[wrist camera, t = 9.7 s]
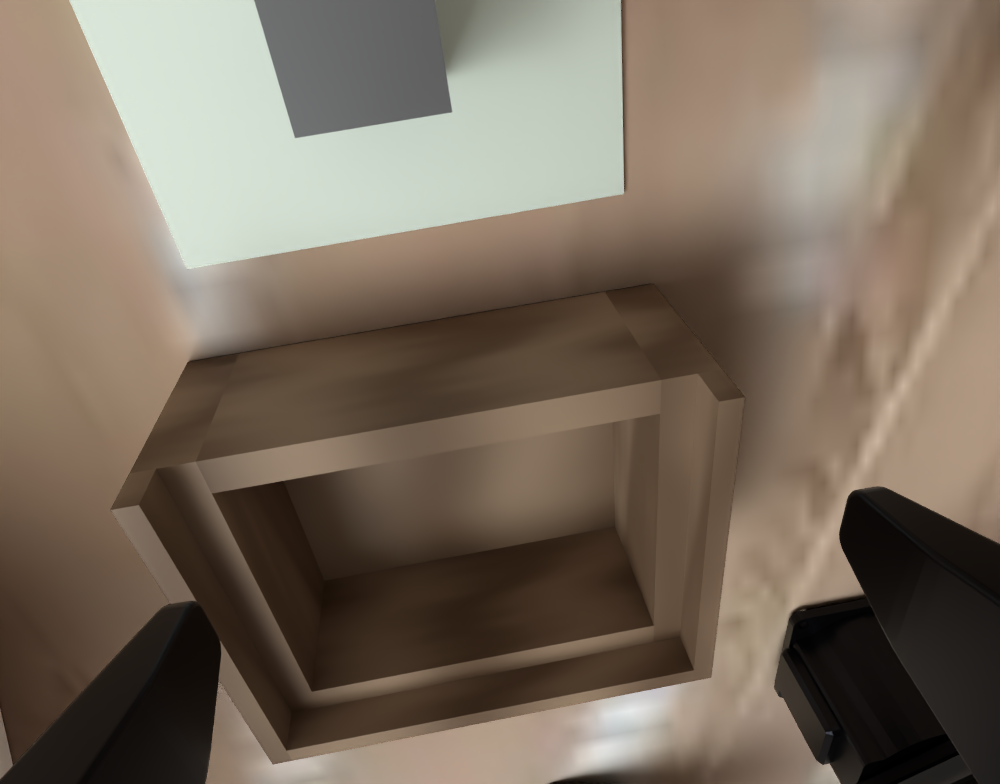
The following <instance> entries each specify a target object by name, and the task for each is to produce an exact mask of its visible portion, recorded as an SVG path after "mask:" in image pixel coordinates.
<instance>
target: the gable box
mask: <svg viewBox="0 0 1000 784" xmlns="http://www.w3.org/2000/svg"><path fill="white" fill-rule="evenodd" d="M12 766H13V763H12V759H11V754H10V750H9V745H8V741H7V737H6V732H5V728H4V723H3V719H2V714H1V710H0V779H1V778H2V777H3V775H4V774H5V773H6V772H7V771H8V770H9V769H10V768H11V767H12Z"/></svg>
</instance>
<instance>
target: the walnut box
mask: <svg viewBox="0 0 1000 784" xmlns="http://www.w3.org/2000/svg"><path fill="white" fill-rule="evenodd" d="M744 401H745V397H744V395H743V394H742V393H741V392H740V390H739V389H738V388H737V387H736V385H735V384H734V383H733V382H732V381H731V379H730V378H729V377H728V376H727V374H726V373H725V372H724V371H723V369H722V368H721V367H720V366H719V364H718V363H717V362H716V361H715V360H714V358H713V357H712V356H711V355H710V353H709V352H708V351H707V350H706V348H705V347H704V346H703V345H702V343H701V342H700V341H699V340H698V339H697V337H696V336H695V335H694V334H693V332H692V331H691V330H690V329H689V327H688V326H687V325H686V324H685V322H684V321H683V320H682V319H681V318H680V316H679V315H678V314H677V313H676V311H675V310H674V309H673V308H672V306H671V305H670V304H669V303H668V301H667V300H666V299H665V298H664V297H663V295H662V294H661V293H660V292H659V290H658V289H657V288H656V287H655V285H654V284H648V285H642V286H636V287H630V288H624V289H618V290H612V291H606V292H601V293H595V294H589V295H583V296H577V297H571V298H565V299H559V300H553V301H547V302H541V303H535V304H529V305H523V306H517V307H511V308H505V309H500V310H494V311H488V312H482V313H476V314H470V315H464V316H458V317H452V318H446V319H440V320H434V321H428V322H422V323H416V324H410V325H404V326H399V327H393V328H387V329H381V330H375V331H369V332H363V333H357V334H351V335H345V336H339V337H333V338H327V339H321V340H315V341H309V342H303V343H298V344H292V345H286V346H280V347H274V348H268V349H262V350H256V351H250V352H244V353H238V354H232V355H226V356H220V357H214V358H208V359H203V360H197V361H191V362H188V363H187V365H186V367H185V368H184V370H183V372H182V374H181V376H180V378H179V380H178V382H177V384H176V386H175V388H174V389H173V391H172V393H171V395H170V397H169V399H168V401H167V403H166V405H165V407H164V409H163V410H162V412H161V414H160V416H159V418H158V420H157V422H156V424H155V426H154V428H153V430H152V431H151V433H150V435H149V437H148V439H147V441H146V443H145V445H144V447H143V449H142V451H141V453H140V454H139V456H138V458H137V460H136V462H135V464H134V466H133V468H132V470H131V472H130V474H129V475H128V477H127V479H126V481H125V483H124V485H123V487H122V489H121V491H120V493H119V495H118V496H117V498H116V500H115V502H114V504H113V506H112V508H111V512H112V513H113V515H114V517H115V518H116V520H117V521H118V523H119V524H120V526H121V528H122V529H123V531H124V532H125V534H126V535H127V537H128V538H129V540H130V542H131V543H132V545H133V546H134V548H135V549H136V551H137V553H138V554H139V556H140V557H141V559H142V560H143V562H144V564H145V565H146V567H147V568H148V570H149V571H150V573H151V574H152V576H153V578H154V579H155V581H156V582H157V584H158V585H159V587H160V589H161V590H162V592H163V593H164V595H165V596H166V598H167V599H168V601H169V603H170V604H174V603H180V602H186V601H196V602H198V603H200V605H201V606H202V607H203V609H204V611H205V613H206V615H207V616H208V618H209V620H210V622H211V624H212V625H213V627H214V629H215V631H216V633H217V634H218V637H219V639H220V643H221V662H220V671H219V681H220V682H221V684H222V686H223V687H224V689H225V690H226V692H227V693H228V695H229V696H230V698H231V700H232V701H233V703H234V704H235V706H236V707H237V709H238V711H239V712H240V714H241V715H242V717H243V718H244V720H245V722H246V723H247V725H248V726H249V728H250V729H251V731H252V732H253V734H254V736H255V737H256V739H257V740H258V742H259V743H260V745H261V747H262V748H263V750H264V751H265V753H266V754H267V756H268V757H269V759H270V761H271V762H272V764H277V763H282V762H287V761H292V760H297V759H303V758H308V757H313V756H318V755H323V754H328V753H333V752H338V751H343V750H348V749H353V748H358V747H363V746H368V745H373V744H378V743H383V742H388V741H393V740H398V739H403V738H408V737H413V736H419V735H424V734H429V733H434V732H439V731H444V730H449V729H454V728H459V727H464V726H469V725H474V724H479V723H484V722H489V721H494V720H499V719H504V718H509V717H514V716H519V715H524V714H529V713H535V712H540V711H545V710H550V709H555V708H560V707H565V706H570V705H575V704H580V703H585V702H590V701H595V700H600V699H605V698H610V697H615V696H620V695H625V694H630V693H635V692H640V691H645V690H651V689H656V688H661V687H666V686H671V685H676V684H681V683H686V682H691V681H696V680H701V679H706V678H711V675H712V667H713V659H714V650H715V642H716V634H717V625H718V617H719V609H720V600H721V592H722V584H723V576H724V567H725V559H726V551H727V542H728V534H729V526H730V517H731V509H732V501H733V492H734V484H735V476H736V468H737V459H738V451H739V443H740V434H741V426H742V418H743V409H744Z"/></svg>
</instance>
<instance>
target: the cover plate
mask: <svg viewBox="0 0 1000 784" xmlns="http://www.w3.org/2000/svg"><path fill="white" fill-rule="evenodd" d="M70 3H71V5H72V7H73V10H74V12H75V14H76V16H77V19H78V21H79V23H80V26H81V28H82V30H83V32H84V35H85V37H86V39H87V42H88V44H89V46H90V48H91V51H92V53H93V55H94V58H95V60H96V62H97V65H98V67H99V69H100V71H101V74H102V76H103V78H104V81H105V83H106V85H107V87H108V90H109V92H110V94H111V97H112V99H113V101H114V103H115V106H116V108H117V110H118V113H119V115H120V117H121V119H122V122H123V124H124V126H125V129H126V131H127V133H128V135H129V138H130V140H131V142H132V145H133V147H134V149H135V151H136V154H137V156H138V158H139V161H140V163H141V165H142V168H143V170H144V172H145V174H146V177H147V179H148V181H149V184H150V186H151V188H152V190H153V193H154V195H155V197H156V200H157V202H158V204H159V206H160V209H161V211H162V213H163V216H164V218H165V220H166V222H167V225H168V227H169V229H170V232H171V234H172V236H173V238H174V241H175V243H176V245H177V248H178V250H179V252H180V255H181V257H182V259H183V261H184V264H185V266H186V268H187V269H192V268H197V267H203V266H209V265H215V264H221V263H226V262H232V261H238V260H244V259H250V258H255V257H261V256H267V255H273V254H279V253H284V252H290V251H296V250H302V249H308V248H313V247H319V246H325V245H331V244H337V243H342V242H348V241H354V240H360V239H365V238H371V237H377V236H383V235H389V234H394V233H400V232H406V231H412V230H418V229H423V228H429V227H435V226H441V225H447V224H452V223H458V222H464V221H470V220H476V219H481V218H487V217H493V216H499V215H505V214H510V213H516V212H522V211H528V210H534V209H539V208H545V207H551V206H557V205H563V204H568V203H574V202H580V201H586V200H592V199H597V198H603V197H609V196H615V195H621V194H624V163H623V100H622V38H621V0H70Z"/></svg>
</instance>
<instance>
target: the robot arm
mask: <svg viewBox="0 0 1000 784" xmlns="http://www.w3.org/2000/svg"><path fill="white" fill-rule="evenodd" d="M839 538H840V543H841V547H842V549H843V551H844V553H845V555H846V557H847V559H848V561H849V563H850V565H851V567H852V569H853V571H854V573H855V575H856V577H857V579H858V581H859V583H860V585H861V587H862V589H863V591H864V593H865V595H866V597H867V599H862V600H857V601H852V602H847V603H842V604H837V605H831V606H826V607H821V608H816V609H811V610H806V611H801V612H798V613H795V614H794V615H792V616H791V617H790V619H789V622H788V626H787V631H786V636H785V640H784V645H783V649H782V653H781V656H780V661H779V665H778V670H777V674H776V679H775V685H774V689H775V690H776V692H777V694H778V696H779V697H782V698H784V700H785V702H786V704H787V706H788V708H789V710H790V712H791V714H792V715H793V717H794V719H795V721H796V723H797V725H798V727H799V729H800V731H801V732H802V734H803V736H804V738H805V740H806V742H807V744H808V746H809V748H810V749H811V751H812V753H813V755H814V757H815V759H816V760H817V761H818V762H820V763H821V764H823V765H824V764H829V763H830V765H831V766H832V768H833V770H834V772H835V774H836V776H837V777H838V779H839V781H840V783H841V784H1000V544H999V543H997V542H995V541H993V540H991V539H989V538H986V537H984V536H982V535H980V534H978V533H976V532H974V531H972V530H970V529H968V528H966V527H964V526H962V525H960V524H958V523H956V522H954V521H952V520H950V519H948V518H946V517H944V516H942V515H940V514H938V513H936V512H934V511H932V510H930V509H928V508H926V507H924V506H922V505H920V504H918V503H916V502H914V501H912V500H910V499H908V498H906V497H904V496H902V495H900V494H898V493H896V492H894V491H892V490H890V489H887V488H885V487H871V488H865V489H859V490H855V491H852V493H851V494H850V495H849V496H848V499H847V503H846V507H845V511H844V515H843V519H842V523H841V527H840V532H839ZM220 662H221V643H220V639H219V637H218V634H217V633H216V631H215V629H214V627H213V625H212V624H211V622H210V620H209V618H208V616H207V615H206V613H205V611H204V609H203V607H202V606H201V605H200V603H198V602H196V601H186V602H180V603H174V604H168V605H166V606H164V607H162V608H161V609H160V610H159V611H158V612H157V613H156V614H155V615H154V616H153V617H152V618H151V619H150V620H149V621H148V622H147V624H146V625H145V626H144V627H143V628H142V629H141V630H140V631H139V632H138V633H137V634H136V635H135V636H134V637H133V638H132V639H131V641H130V642H129V643H128V644H127V645H126V646H125V647H124V648H123V649H122V650H121V651H120V652H119V653H118V654H117V655H116V656H115V658H114V659H113V660H112V661H111V662H110V663H109V664H108V665H107V666H106V667H105V668H104V669H103V670H102V671H101V672H100V673H99V675H98V676H97V677H96V678H95V679H94V680H93V681H92V682H91V683H90V684H89V685H88V686H87V687H86V688H85V689H84V690H83V692H82V693H81V694H80V695H79V696H78V697H77V698H76V699H75V700H74V701H73V702H72V703H71V704H70V705H69V706H68V707H67V709H66V710H65V711H64V712H63V713H62V714H61V715H60V716H59V717H58V718H57V719H56V720H55V721H54V722H53V723H52V724H51V726H50V727H49V728H48V729H47V730H46V731H45V732H44V733H43V734H42V735H41V736H40V737H39V738H38V739H37V740H36V741H35V743H34V744H33V745H32V746H31V747H30V748H29V749H28V750H27V751H26V752H25V753H24V754H23V755H22V756H21V757H20V758H19V760H18V761H17V762H16V763H15V764H14V765H13V766H12V767H11V768H10V769H9V770H8V771H7V772H6V773H5V774H4V775H3V777H2V778H1V779H0V784H205V782H206V777H207V772H208V766H209V758H210V751H211V742H212V734H213V725H214V716H215V707H216V698H217V689H218V680H219V671H220Z"/></svg>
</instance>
